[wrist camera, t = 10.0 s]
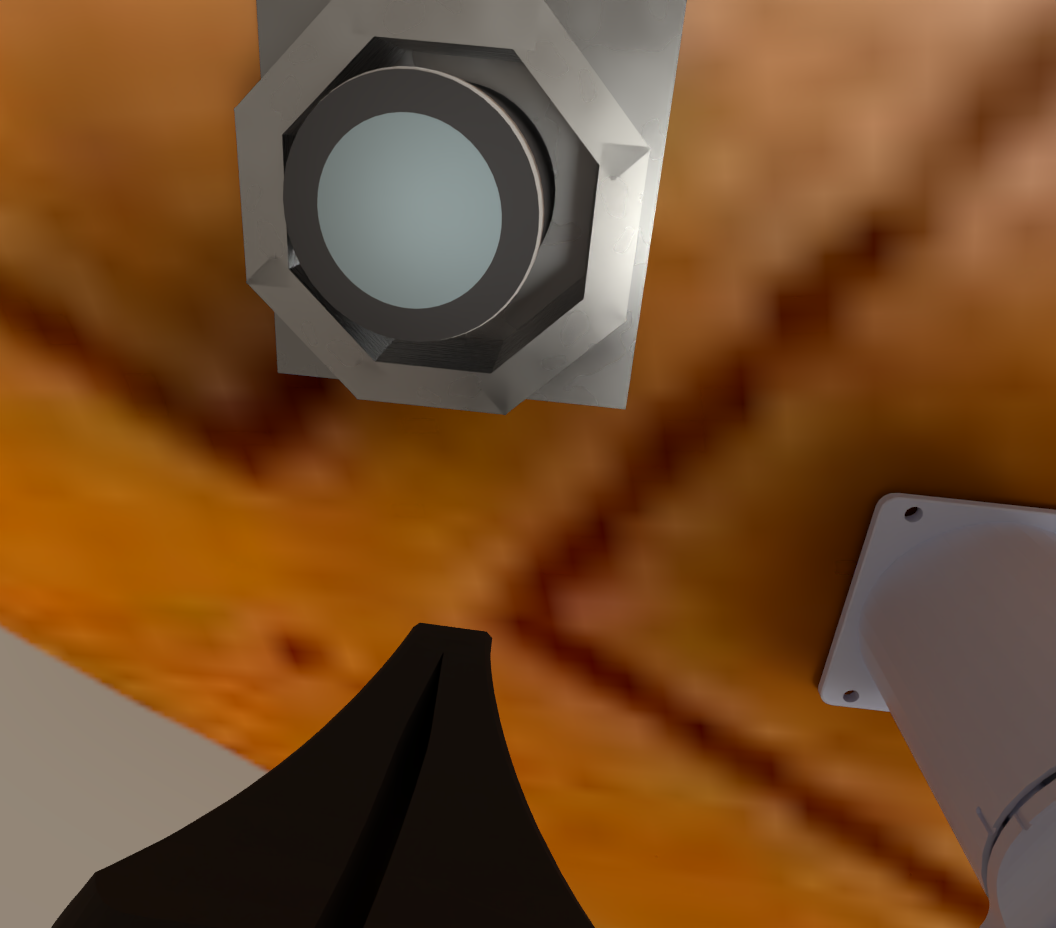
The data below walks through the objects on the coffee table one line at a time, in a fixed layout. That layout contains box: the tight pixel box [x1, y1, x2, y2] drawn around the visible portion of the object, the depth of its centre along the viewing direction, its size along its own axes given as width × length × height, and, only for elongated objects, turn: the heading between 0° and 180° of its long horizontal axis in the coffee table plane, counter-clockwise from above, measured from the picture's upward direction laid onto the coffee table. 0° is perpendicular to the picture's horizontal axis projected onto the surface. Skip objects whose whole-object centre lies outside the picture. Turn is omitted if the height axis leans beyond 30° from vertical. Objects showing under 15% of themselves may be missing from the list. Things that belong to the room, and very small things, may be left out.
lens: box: [283, 66, 555, 342], centre depth 16 cm, size 5×5×5 cm
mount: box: [234, 0, 687, 415], centre depth 18 cm, size 10×10×4 cm
